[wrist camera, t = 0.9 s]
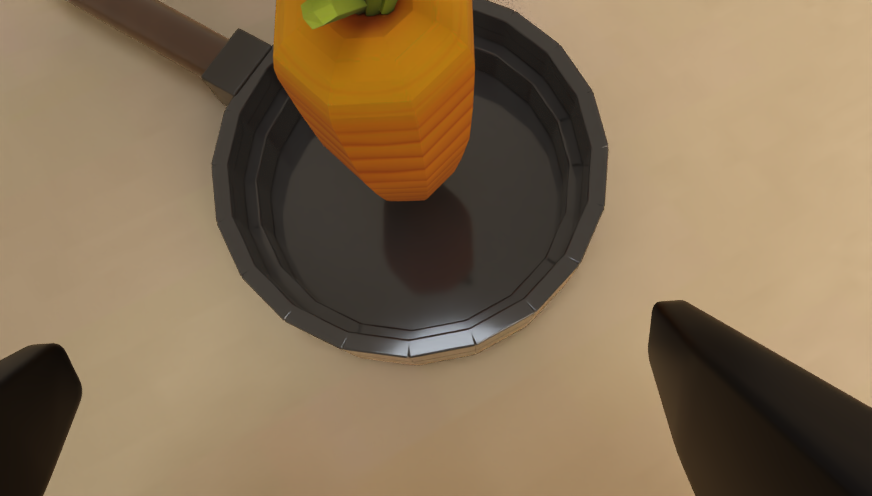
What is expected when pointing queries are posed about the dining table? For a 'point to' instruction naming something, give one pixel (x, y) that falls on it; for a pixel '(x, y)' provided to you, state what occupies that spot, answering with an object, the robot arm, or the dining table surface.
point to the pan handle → (185, 41)
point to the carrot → (382, 85)
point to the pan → (420, 209)
